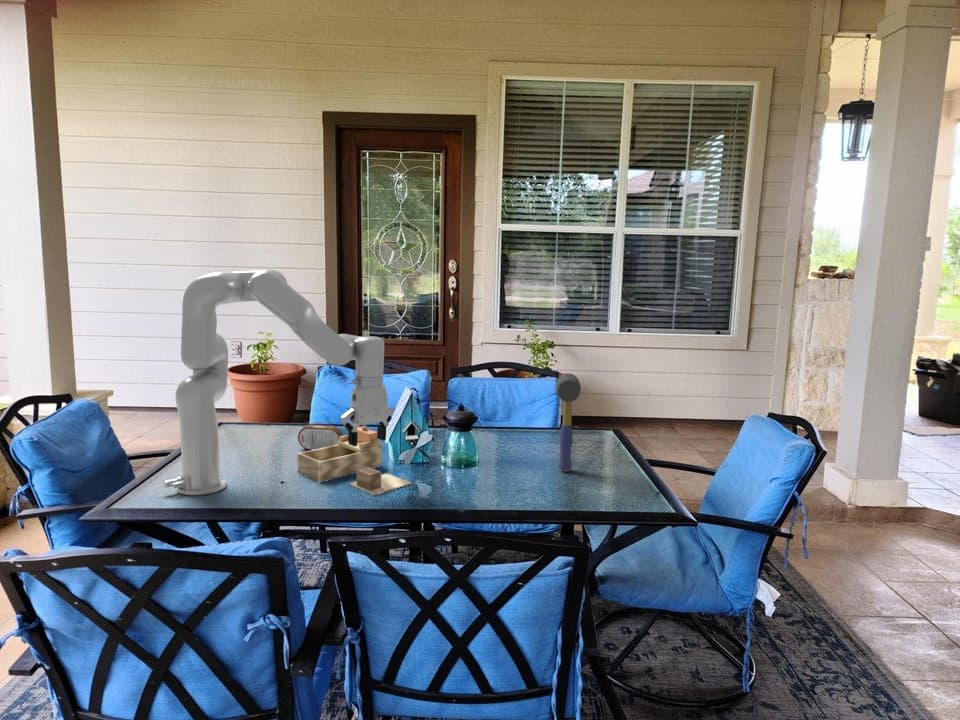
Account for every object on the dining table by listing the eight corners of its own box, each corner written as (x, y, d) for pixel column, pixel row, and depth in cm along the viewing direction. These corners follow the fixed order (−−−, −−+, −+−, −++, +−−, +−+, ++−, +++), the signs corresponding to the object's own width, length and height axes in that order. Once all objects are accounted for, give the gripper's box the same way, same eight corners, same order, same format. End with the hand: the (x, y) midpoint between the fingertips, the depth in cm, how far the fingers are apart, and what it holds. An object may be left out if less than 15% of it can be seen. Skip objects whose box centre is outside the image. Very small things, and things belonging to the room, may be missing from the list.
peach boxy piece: (369, 445, 200) (369, 430, 200) (352, 439, 206) (352, 424, 206) (377, 443, 202) (377, 428, 202) (360, 437, 209) (360, 423, 208)
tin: (343, 449, 220) (343, 425, 219) (341, 452, 217) (340, 427, 216) (300, 447, 221) (299, 423, 220) (296, 450, 218) (296, 425, 217)
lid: (373, 497, 178) (373, 478, 177) (348, 486, 186) (348, 468, 185) (411, 486, 188) (411, 467, 187) (386, 476, 195) (386, 458, 195)
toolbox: (319, 482, 187) (319, 454, 186) (297, 472, 195) (297, 445, 194) (381, 466, 203) (381, 439, 202) (358, 458, 211) (358, 432, 210)
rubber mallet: (577, 478, 196) (582, 379, 191) (552, 476, 197) (556, 378, 192) (576, 465, 208) (580, 372, 204) (552, 464, 209) (556, 371, 205)
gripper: (350, 387, 171) (349, 450, 173) (402, 381, 183) (400, 440, 186) (334, 382, 176) (333, 444, 178) (385, 376, 188) (383, 434, 191)
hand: (367, 442), depth 182 cm, fingers open, 9 cm apart
